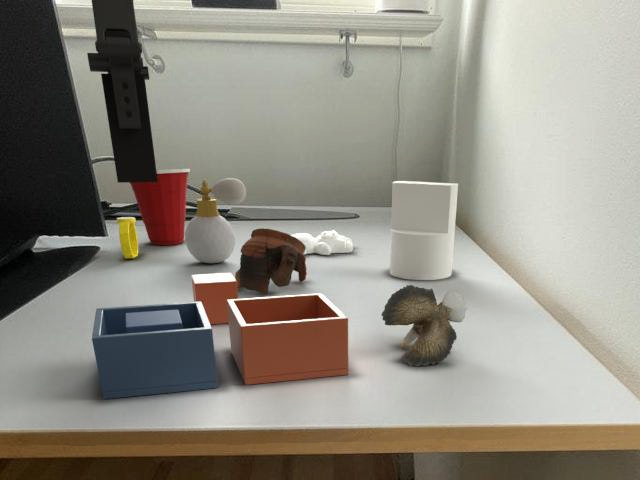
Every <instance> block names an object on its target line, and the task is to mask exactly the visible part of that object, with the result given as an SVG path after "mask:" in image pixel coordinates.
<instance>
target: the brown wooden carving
mask: <svg viewBox="0 0 640 480" xmlns="http://www.w3.org/2000/svg"><path fill="white" fill-rule="evenodd" d="M291 235H292V234H289V233H286V232H284V231H281V230H276V229H272V228H263V227H262V228H256V229H253V230H252V232H251V234H250V238H249V239H248V240H246V241H245V242H244V244H242V246H241V248H240V253H241V254H240V258H239V260H240V261H239V265H240V266H239V269H238V270H236V272H235V274H234V278H235V279H236V281H237V288H238V289H246V290H248V291H254V292H258V293H263V294H266V295H267V294H268V293H269V285H270V282H271V281H272V282H273V284H274V285H275V286H277V287H278V288H283V287H287V286H289V285H290V283H291V280H292V275H293V272H294V271H295V272H297V273H298V281H299V283H302V282H304V281H305V280H306V279H307V274H308V273H307V270H308V269H307V264H306V262H307V261H306V260H307V258H306V256H305V255H304V251H305V249H306V247H305V245H304V244H303V243H302V242H301V241H300V240H298V239H297V238H295V237H293V236H291Z"/></svg>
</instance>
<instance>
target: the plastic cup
mask: <svg viewBox="0 0 640 480" xmlns="http://www.w3.org/2000/svg"><path fill="white" fill-rule="evenodd" d="M190 171H191V169H190V168H177V169H173V168H172V169H156V172H157V180H158V182H129V184H130V187H131V189H132V191H133V194H134V197H135V200H136V204H137V206H138V209H139V213H140V216H141V219H142V220H141V221H142V223H143V224H144V228H145V231H146V234H147V237H148V240H149V242H150V244H151V245H155V246H174V245H179V244H182V243H184V241H185V231H186V227H185V224H186V215H187V213H186V211H187V189H188V178H189V173H190Z"/></svg>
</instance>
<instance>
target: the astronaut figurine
mask: <svg viewBox="0 0 640 480" xmlns="http://www.w3.org/2000/svg"><path fill="white" fill-rule="evenodd" d="M290 235H291V236H293V237H295V238H297V239H298V240H300V241H301V242H302V243H303V244H304V245H305V247H306V249H305V251H304V256H305V255H309V254H318V255H323V256H330V255H331V254H346V253H347V254H349V253H352V251H353V249H354V245H353V240H352V239H351V238H349V237H346V236H345V235H340V234H339V233H338V232H337V231H336V230H334V229H332V230H325V231H322V232H320V234H319V235H317V236H316V237H314V236H312V235H311V234H309V233H306V232H299V233H294V234H290Z"/></svg>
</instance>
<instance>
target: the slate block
mask: <svg viewBox="0 0 640 480" xmlns="http://www.w3.org/2000/svg"><path fill="white" fill-rule="evenodd" d="M125 318H126V333H140V332H153V331H165V330H178V329H183V326H182V321H181V317H180V314H179V310H163V311H149V312H135V313H126V314H125Z"/></svg>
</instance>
